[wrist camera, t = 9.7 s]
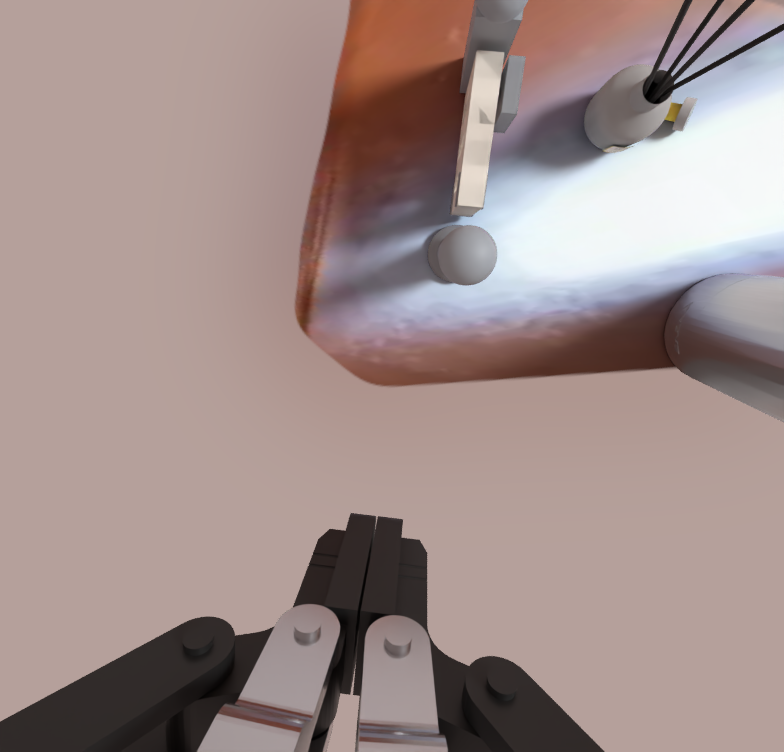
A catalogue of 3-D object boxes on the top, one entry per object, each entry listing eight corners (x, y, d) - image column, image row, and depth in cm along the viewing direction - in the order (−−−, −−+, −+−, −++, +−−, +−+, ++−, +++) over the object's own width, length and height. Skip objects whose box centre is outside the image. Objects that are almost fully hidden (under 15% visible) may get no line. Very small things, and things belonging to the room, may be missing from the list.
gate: (471, 217, 37) (484, 207, 29) (449, 214, 37) (455, 205, 29) (487, 99, 35) (506, 52, 26) (463, 97, 35) (475, 49, 26)
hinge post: (486, 228, 38) (519, 216, 24) (478, 284, 39) (505, 302, 26) (430, 222, 38) (433, 208, 24) (424, 278, 39) (423, 294, 26)
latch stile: (511, 57, 34) (563, -60, 21) (500, 139, 36) (542, 76, 23) (461, 53, 35) (482, -65, 21) (452, 135, 36) (466, 70, 23)
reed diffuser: (552, 164, 36) (695, 68, 17) (548, 66, 34) (704, -167, 15) (688, 144, 35) (1006, 15, 16) (691, 41, 33) (1053, -243, 14)
